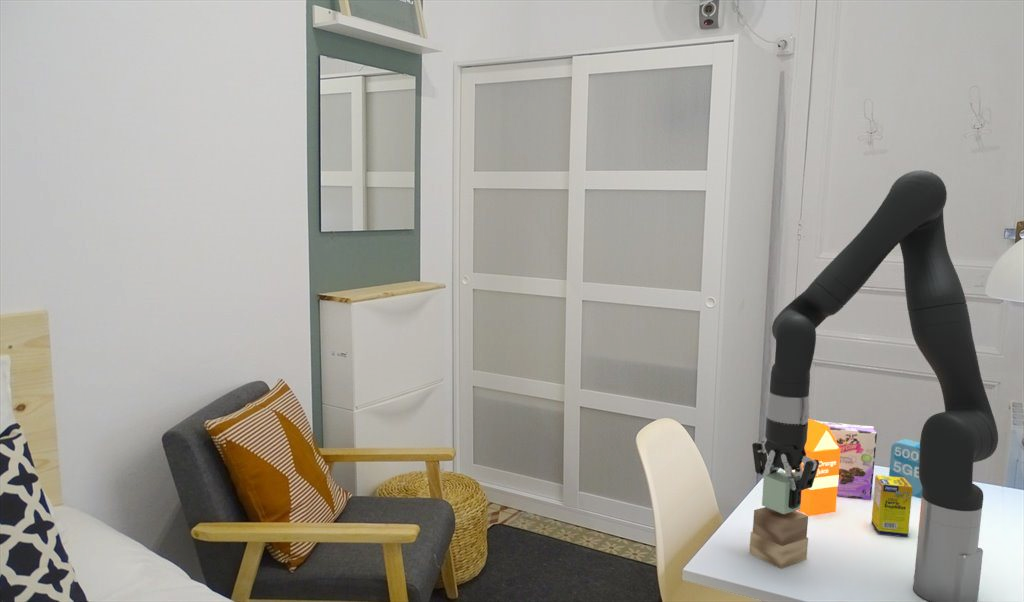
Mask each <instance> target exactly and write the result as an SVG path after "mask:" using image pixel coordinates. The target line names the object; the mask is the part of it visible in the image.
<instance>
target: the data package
mask: <svg viewBox="0 0 1024 602" xmlns="http://www.w3.org/2000/svg"><path fill="white" fill-rule="evenodd" d="M919 455H920V441H915V440H911V439H905V438H903V439H900V440H898V441H895V442H893V444H892V445H891V449H890V460H889V472H888V473H889V474H888V476H892V477H903V478H905V479H906V480H907V481H908V482H909V484H910V485H911V486H912V487H913V488H912V497H916V498H919V499H922V485H921V482H920V479H919Z"/></svg>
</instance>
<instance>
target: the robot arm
mask: <svg viewBox="0 0 1024 602" xmlns="http://www.w3.org/2000/svg"><path fill="white" fill-rule="evenodd" d="M947 192H948V191H947V188H946V185H945V182H944V181H943V179H942V178H941V177H940V176H938V175H937V174H935V173H933V172H932V171H928V170H914V171H910V172H906V173H904V174H903V175H901V176H900V177H898V178H897V179H896V180H895V181H894V183H893V184H892V185H891V187H890V189H889V191H888V193H887V195H886V196H885V198H884V200H883V201H882V202H881V204H880V205H879V207H878V208H877V210H876V211H875V212H874V214H873V215H872V216H871V218H870V219H869V220H868V222H867V223H866V224H865V225H864V226H863V228H862V229H861V230H860V231H859V233H857V235H856V236H855V237H854V238H852V240H851V241H850V242H849V243H848V244H847V245H846V246H845V248H843V249H842V250H841V251H840V252H839V254H837V255H836V257H834V258H833V260H831V262H830V263H828V265H826V267H825V268H824V269H822V271H821V272H819V274H818V275H817V276H816V277H815V279H814V280H813V281H812V282H811V283H810V284H809V285H808V286H807V288H806V289H805V290H804V291H803V292H802V293H801V294H799V295H798V296H796V297H795V298H794V299H793V300H792V301H791V302H790V303H788V305H787V306H785V307H784V308H783V309H782V310H781V311H780V312H779V314H777V316H776V317H775V319H774V321H773V322H772V327H771V333H772V336H773V338H774V339H775V354H774V363H773V365H772V367H771V371H770V382H769V394H768V398H767V403H766V416H765V417H766V421H765V432H764V433H765V434H764V436H765V439H766V441H765V442H764V441H763V440H762V441H757V442H753V443H752V445H751V446H752V453H753V461H754V462H753V463H754V470H755V472H756V474H760V476H762V478H763V480H764V475H768V474H772V473H777V472H779V471H780V469H781V470H782V471H784V470H785V473H786V477H787V478H788V479H789V482H790V487H791V489H790V492H789V508H791V509H794V508H797V507H798V506H799V505H800V504H801V493H802V490H805V489H808V488H811V487H812V485H813V482H814V479H815V476H816V473H817V470H818V467H819V461H818V460H817V459H815V460H812V459H811V458H809V457H807V456H806V452H805V444H806V442H807V433H808V419H810V418H809V416H810V396H809V395H810V382H811V368H812V365H813V364H812V363H813V360H814V355H815V349H816V343H817V342H816V340H817V332H816V330H817V328H818V327H819V326H820V325H821V324H822V323H823V322H824V321H825V320H826V319H827V318H829V317H831V316H834V315H835V314H837V313H838V312H839V311H840V310H842V309H843V307H844V306H845V305H847V303H849V301H850V300H851V299H852V298H853V297H854V296H855V295H856V294H857V293H858V292H859V291H860V290H861V289H862V287H863V286H864V285H865V284H866V283H867V282H868V280H869V279H870V277H872V275H873V274H874V273H875V271H876V270H877V269H878V268H879V266H880V265H881V264H882V262H883V261H884V260H885V259H886V257H888V255H889V254H890V253H891V252H892V251H893V249H895V248H896V247H897V246H898V245H899V247H900V250H901V255H902V263H903V275H904V278H903V279H904V291H905V299H906V307H907V312H908V317H909V323H910V329H911V333H912V337H913V340H914V342H915V344H916V346H917V347H918V349H919V351H920V353H921V354H922V356H923V358H924V359H925V360H926V362H927V363H928V365H929V366H930V368H931V369H932V371H933V372H934V374H935V376H936V378H937V380H938V384H939V385H940V389H941V394H942V397H943V398H942V399H943V404H944V410H945V411H943V412H942V411H941V412H938V413H935V414H933V415H931V416H929V417H928V418H927V420H926V421H925V422H924V424H923V427H922V431H921V433H920V439H919V442H920V455H919V479H920V482H921V485H922V498H921V502H920V512H919V520H918V521H919V522H918V523H919V524H918V530H917V531H918V534H917V540H916V541H917V542H916V551H915V552H916V555H915V564H914V572H913V573H914V575H913V584H912V585H913V587H912V589H913V591H914V592H915V593H916V595H918V596H920V597H921V598H923V599H925V600H927V601H929V602H978V600H979V593H980V585H981V584H980V581H981V574H982V564H983V555H984V551H983V550H984V549H982V547H979V541H980V530H981V524H982V523H981V521H982V512H983V503H984V491H983V490H982V488H981V487H979V486H978V485H976V484H975V483H973V482H974V481H973V476H974V475H973V472H974V470H973V469H974V463H978V462H981V461H985V460H987V459H988V458H990V457H992V456H993V454H994V453H995V451H996V450H997V447H998V443H999V431H998V426H997V422H996V420H995V416H994V413H993V411H992V408H991V405H990V400H989V398H988V395H987V392H986V389H985V385H984V383H983V379H982V375H981V374H982V373H981V370H980V365H979V359H978V356H977V350H976V347H975V346H976V345H975V341H974V337H973V331H972V326H971V325H972V324H971V319H970V313H969V308H968V304H967V300H966V299H967V298H966V296H965V293H964V290H963V286H962V284H961V281H960V277H959V276H958V273H957V270H956V268H955V265H954V263H953V261H952V258H951V256H950V254H949V250H948V247H947V239H946V232H945V222H944V221H945V220H944V208H945V206H946V203H947V198H948V197H947V196H948V193H947ZM767 456H768V457H767ZM802 462H803V466H801V463H802ZM802 467H803V468H804V470H803V471H802ZM792 470H795V472H792ZM795 478H796V479H795Z"/></svg>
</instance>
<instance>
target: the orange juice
mask: <svg viewBox="0 0 1024 602" xmlns="http://www.w3.org/2000/svg"><path fill="white" fill-rule="evenodd" d="M817 421H818V420H816V421H814V419H811V418H809V419H808V433H807V442H806V444H805V452H806V456H807V457H809V458H811V459H812V460H815V459H817V460H818V461H819V467H818V470H817V473H816V476H815V479H814V482H813V485H812V487H811V488H808V489H805V490H802V494H801V508H800V509H799V510H800V511H799V510H798V511H799V512H801V511H802V512H803V513H802V512H801V513H802V514H804V513H805V514H804V515H807V516H808V517H811V515H812V516H818V515H824V514H829V513H836V509H837V499H838V496H837V488H838V479H839V463H840V450H841V449H840V448H839V446H838V444H837V442H836V440H835V438H834V436H833V434H832V432H831V430H830V429H829V426H827V425H825V424H822V423H820V422H817ZM801 466H803V462H802V463H801ZM803 470H804V468H803V467H802V471H803ZM783 472H785V470H783ZM792 472H795V470H792Z"/></svg>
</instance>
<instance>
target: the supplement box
mask: <svg viewBox="0 0 1024 602" xmlns="http://www.w3.org/2000/svg"><path fill="white" fill-rule="evenodd" d="M912 488H913V487H912V486H911V485H910V484H909V482H908V481H907V480H906V479H905V478H903V477H892V476H889V475H881V474H880V475H879V474H878V475H877V474H876V475H875V479H874V488H873V503H872V511H871V515H872V516H871V525H872V526H873V528H874V530H875V531H876V532H877V534H878V535H884V536H886V535H887V536H895V537H904V538H905V537H906V538H907V537H909V528H910V520H911V519H910V516H911V508H912V497H913V496H912Z"/></svg>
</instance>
